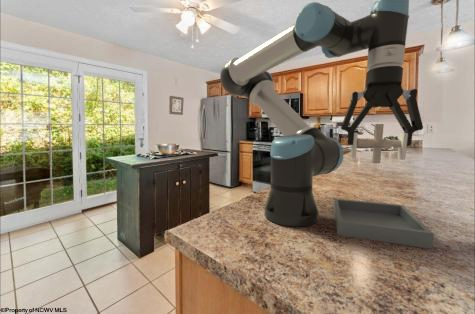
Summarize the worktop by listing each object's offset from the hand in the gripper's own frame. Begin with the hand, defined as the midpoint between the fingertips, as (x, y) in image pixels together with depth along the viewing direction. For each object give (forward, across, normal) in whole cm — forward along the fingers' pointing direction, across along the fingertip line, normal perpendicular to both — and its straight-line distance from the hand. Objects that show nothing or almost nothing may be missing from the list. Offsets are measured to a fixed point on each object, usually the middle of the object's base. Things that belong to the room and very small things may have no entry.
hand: (376, 158), depth 56 cm
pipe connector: (+1, 0, 0) cm, 1 cm away
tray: (+17, 0, -2) cm, 18 cm away
